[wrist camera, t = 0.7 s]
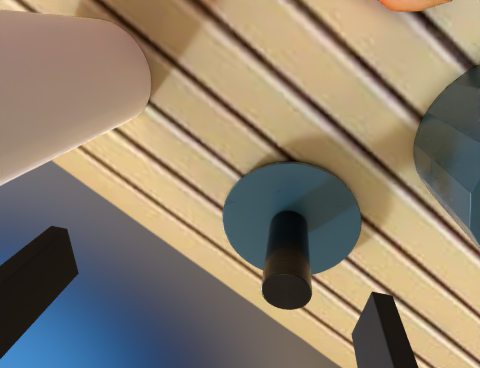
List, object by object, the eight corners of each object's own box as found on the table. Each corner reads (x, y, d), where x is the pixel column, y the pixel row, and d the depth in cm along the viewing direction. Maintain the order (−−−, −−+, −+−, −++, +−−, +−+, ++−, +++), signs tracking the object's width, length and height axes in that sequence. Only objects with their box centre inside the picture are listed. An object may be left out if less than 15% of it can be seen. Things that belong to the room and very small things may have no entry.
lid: (229, 149, 28) (199, 199, 20) (378, 171, 27) (418, 237, 18) (221, 257, 35) (196, 330, 27) (339, 280, 34) (354, 366, 25)
